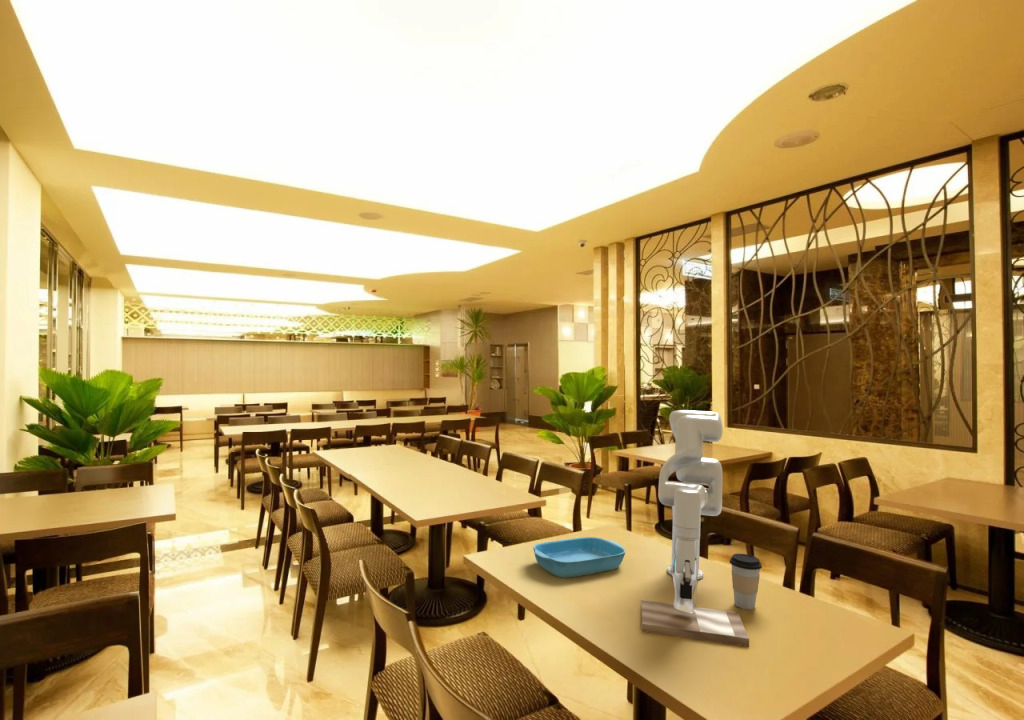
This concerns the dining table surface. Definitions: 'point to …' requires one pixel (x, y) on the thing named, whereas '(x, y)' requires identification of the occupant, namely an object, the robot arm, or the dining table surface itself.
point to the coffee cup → (745, 579)
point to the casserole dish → (579, 556)
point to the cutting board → (693, 623)
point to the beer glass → (679, 603)
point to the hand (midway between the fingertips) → (684, 592)
